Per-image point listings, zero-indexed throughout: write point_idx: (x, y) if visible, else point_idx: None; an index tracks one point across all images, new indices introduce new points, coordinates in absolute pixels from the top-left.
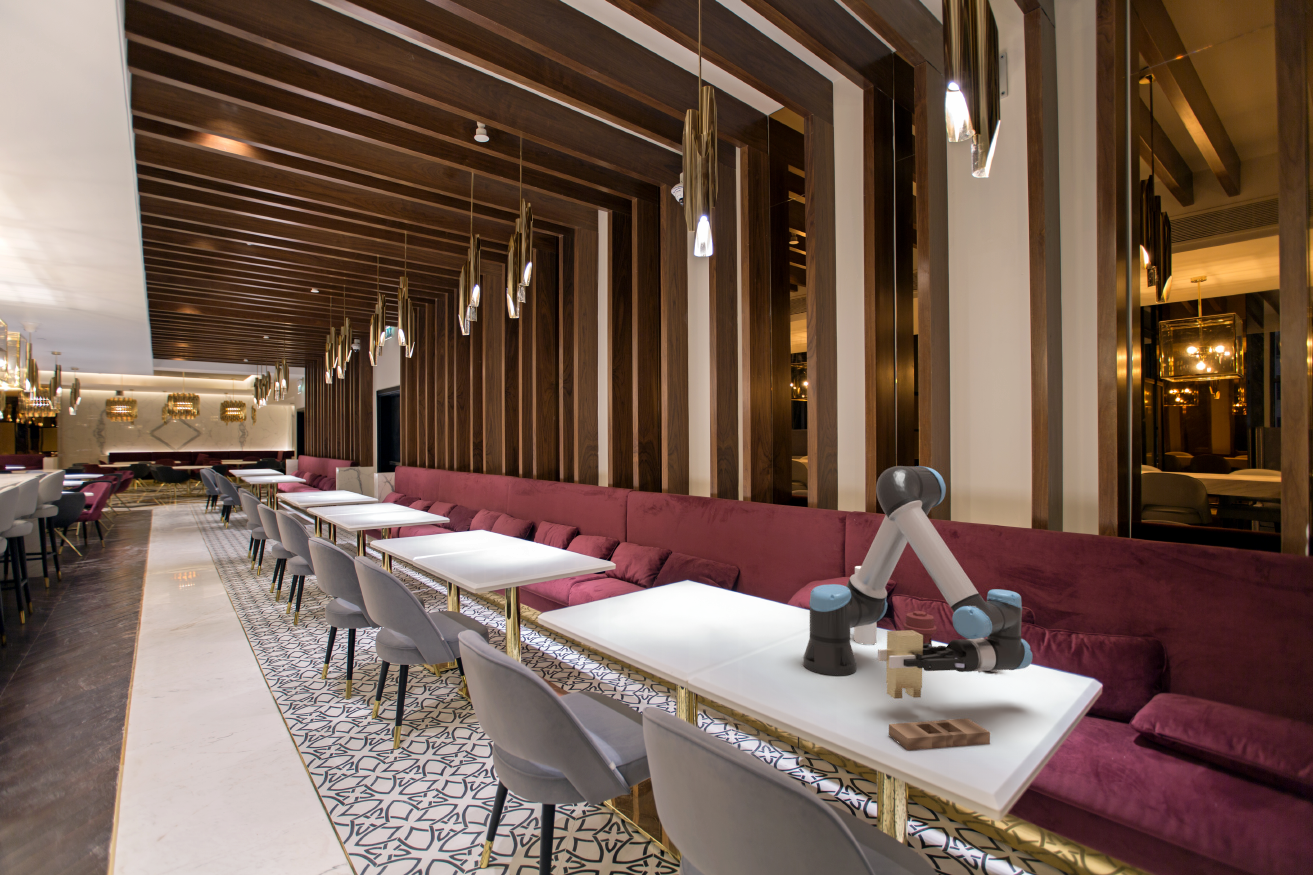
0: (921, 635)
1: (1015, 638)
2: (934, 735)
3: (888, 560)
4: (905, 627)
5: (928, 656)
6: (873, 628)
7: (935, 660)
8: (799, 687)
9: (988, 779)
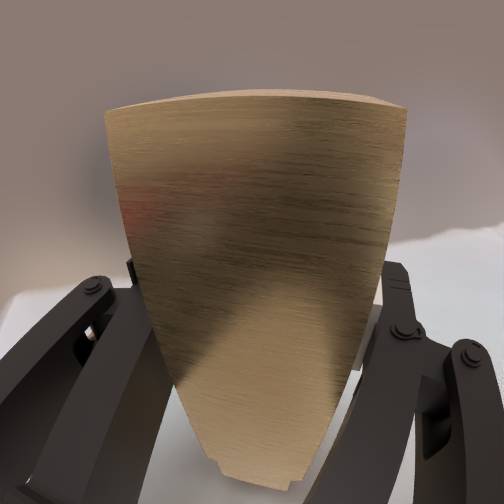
0: (121, 111)
1: None
2: (93, 334)
3: None
4: None
5: (104, 358)
6: None
7: (40, 321)
8: (482, 317)
9: (16, 323)
